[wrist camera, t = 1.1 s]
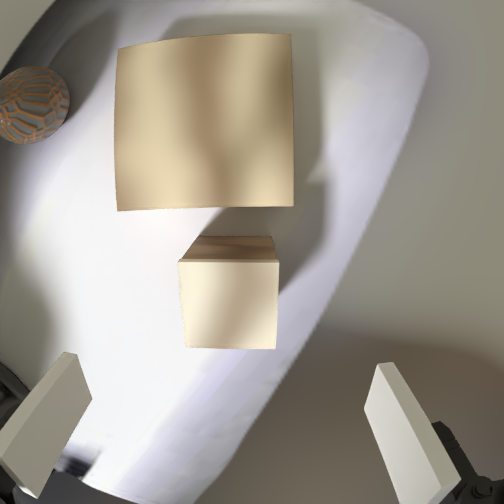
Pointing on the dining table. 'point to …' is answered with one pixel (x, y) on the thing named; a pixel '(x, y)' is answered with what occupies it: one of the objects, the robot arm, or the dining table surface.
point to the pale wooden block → (229, 292)
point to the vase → (32, 104)
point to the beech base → (205, 123)
